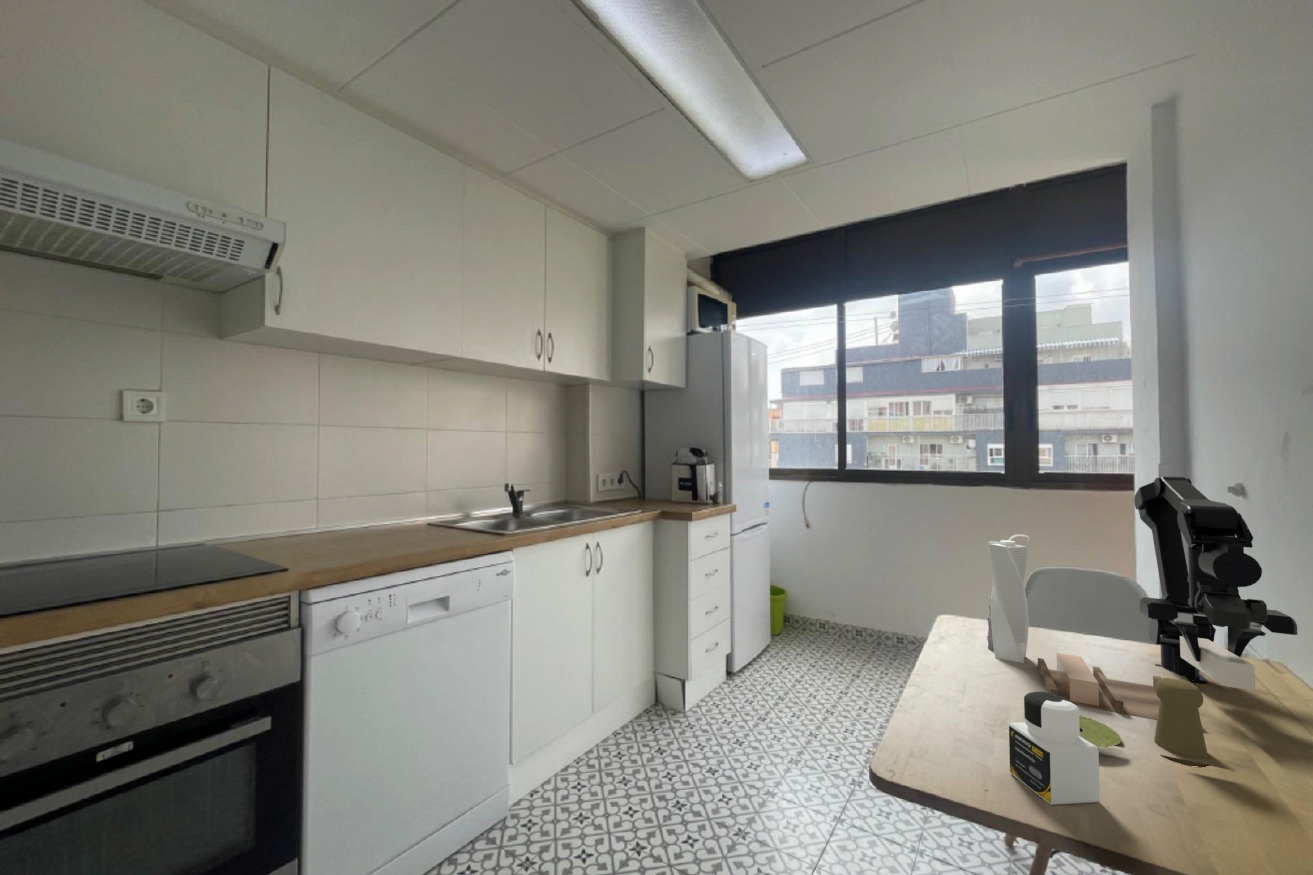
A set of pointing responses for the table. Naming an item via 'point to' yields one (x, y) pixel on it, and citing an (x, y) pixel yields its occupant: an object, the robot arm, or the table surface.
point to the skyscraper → (1008, 600)
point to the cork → (1180, 721)
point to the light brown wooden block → (1077, 679)
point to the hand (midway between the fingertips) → (1214, 663)
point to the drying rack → (1110, 693)
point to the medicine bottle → (1054, 751)
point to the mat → (1098, 733)
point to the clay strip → (1220, 664)
